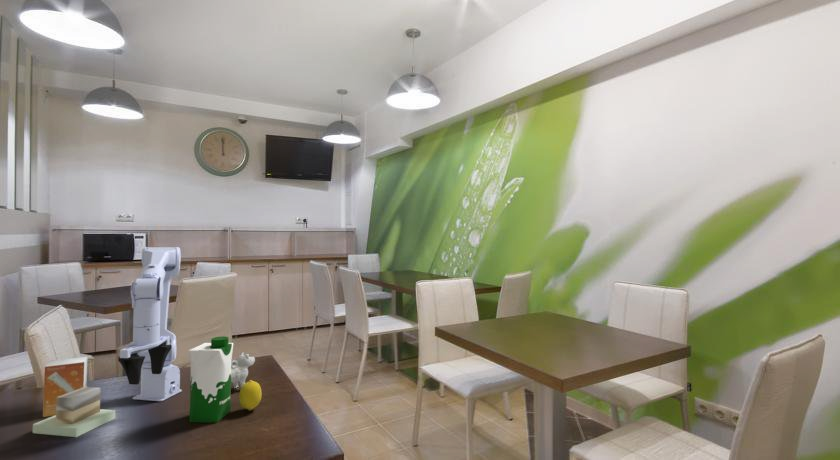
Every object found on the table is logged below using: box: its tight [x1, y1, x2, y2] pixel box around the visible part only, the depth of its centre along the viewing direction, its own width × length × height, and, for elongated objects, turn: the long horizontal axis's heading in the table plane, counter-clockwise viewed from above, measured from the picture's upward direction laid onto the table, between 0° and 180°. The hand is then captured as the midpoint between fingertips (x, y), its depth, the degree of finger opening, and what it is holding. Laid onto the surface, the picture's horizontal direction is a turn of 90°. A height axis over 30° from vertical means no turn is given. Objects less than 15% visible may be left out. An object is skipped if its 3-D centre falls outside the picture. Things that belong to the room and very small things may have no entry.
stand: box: [32, 408, 116, 438], centre depth 99 cm, size 12×10×2 cm
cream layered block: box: [56, 386, 102, 424], centre depth 99 cm, size 4×7×6 cm, turn 171°
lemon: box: [238, 379, 263, 411], centre depth 108 cm, size 6×6×8 cm
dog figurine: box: [231, 352, 256, 389], centre depth 123 cm, size 5×13×11 cm, turn 148°
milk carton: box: [188, 336, 234, 423], centre depth 105 cm, size 9×9×20 cm
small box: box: [42, 356, 89, 418], centre depth 108 cm, size 8×6×13 cm
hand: (145, 378), depth 104 cm, fingers open, 7 cm apart
